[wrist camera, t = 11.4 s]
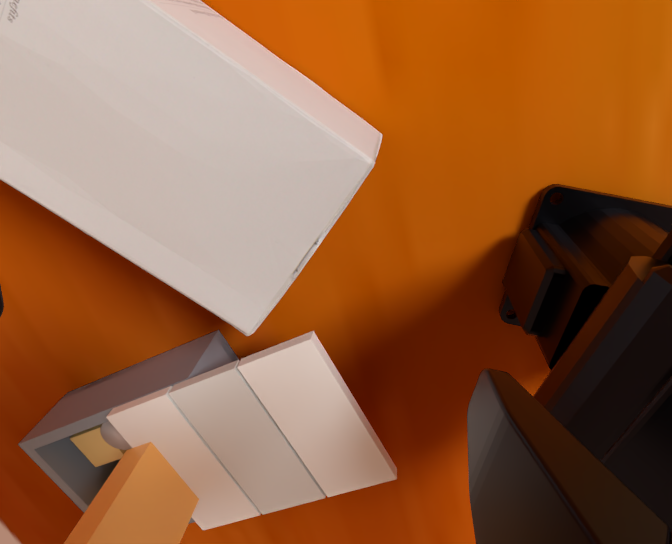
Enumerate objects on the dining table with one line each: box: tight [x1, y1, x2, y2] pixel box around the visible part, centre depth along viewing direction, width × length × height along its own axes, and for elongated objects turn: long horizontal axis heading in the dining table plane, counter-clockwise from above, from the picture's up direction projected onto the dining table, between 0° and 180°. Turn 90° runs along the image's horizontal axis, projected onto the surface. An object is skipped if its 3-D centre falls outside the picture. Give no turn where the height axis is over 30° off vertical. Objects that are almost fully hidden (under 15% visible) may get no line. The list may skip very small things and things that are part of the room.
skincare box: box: [0, 0, 382, 336], centre depth 17 cm, size 8×6×15 cm
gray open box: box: [18, 330, 240, 524], centre depth 26 cm, size 11×8×4 cm
